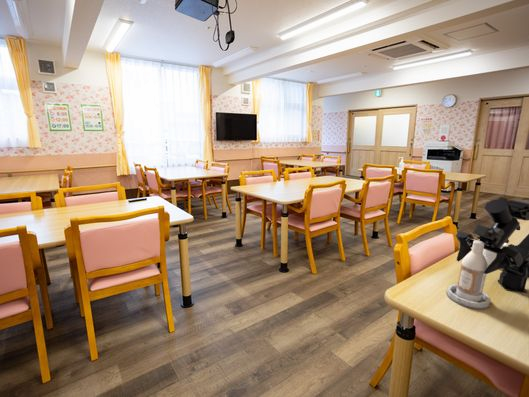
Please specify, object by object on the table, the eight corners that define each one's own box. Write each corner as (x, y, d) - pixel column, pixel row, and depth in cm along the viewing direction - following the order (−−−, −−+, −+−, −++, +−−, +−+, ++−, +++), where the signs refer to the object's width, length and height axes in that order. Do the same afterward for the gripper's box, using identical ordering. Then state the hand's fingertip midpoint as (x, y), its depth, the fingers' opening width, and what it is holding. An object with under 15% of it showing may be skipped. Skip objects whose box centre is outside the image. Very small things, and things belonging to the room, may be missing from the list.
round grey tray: (480, 292, 101) (481, 287, 101) (496, 312, 90) (497, 306, 90) (442, 286, 105) (443, 281, 104) (452, 305, 94) (453, 300, 93)
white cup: (503, 269, 118) (508, 247, 116) (479, 264, 122) (484, 242, 120) (500, 262, 124) (505, 240, 122) (478, 257, 129) (482, 237, 126)
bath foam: (451, 293, 99) (461, 239, 95) (465, 289, 102) (475, 236, 97) (471, 304, 93) (482, 247, 88) (485, 300, 95) (497, 244, 91)
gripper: (463, 208, 100) (435, 242, 99) (526, 225, 83) (492, 266, 82) (475, 227, 105) (448, 259, 104) (536, 247, 88) (504, 285, 87)
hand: (470, 266), depth 94 cm, fingers open, 9 cm apart
